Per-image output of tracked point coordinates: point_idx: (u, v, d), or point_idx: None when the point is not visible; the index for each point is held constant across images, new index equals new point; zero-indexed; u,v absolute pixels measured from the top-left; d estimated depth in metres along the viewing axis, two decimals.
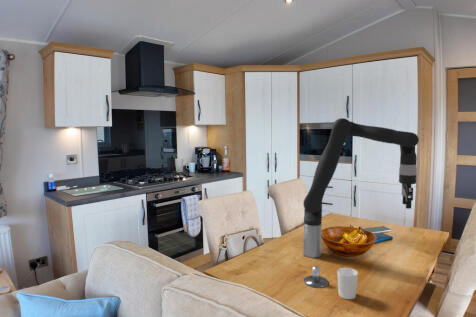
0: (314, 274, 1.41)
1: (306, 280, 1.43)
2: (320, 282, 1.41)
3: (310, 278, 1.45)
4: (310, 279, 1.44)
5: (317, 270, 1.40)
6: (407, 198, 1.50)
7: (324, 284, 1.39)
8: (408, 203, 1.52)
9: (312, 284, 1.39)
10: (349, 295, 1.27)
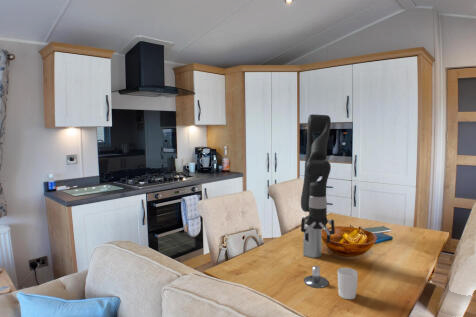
0: (314, 274, 1.41)
1: (306, 280, 1.43)
2: (320, 282, 1.41)
3: (310, 278, 1.45)
4: (310, 279, 1.44)
5: (317, 270, 1.40)
6: (334, 232, 1.37)
7: (324, 284, 1.39)
8: None
9: (312, 284, 1.39)
10: (349, 295, 1.27)
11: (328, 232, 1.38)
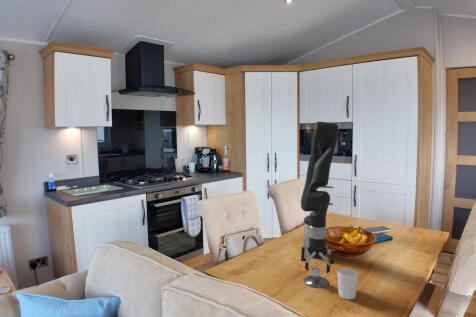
0: (314, 274, 1.41)
1: (306, 280, 1.43)
2: (320, 282, 1.41)
3: (310, 278, 1.45)
4: (310, 279, 1.44)
5: (317, 270, 1.40)
6: None
7: (324, 284, 1.39)
8: (329, 267, 1.40)
9: (312, 284, 1.39)
10: (349, 295, 1.27)
11: (328, 262, 1.39)
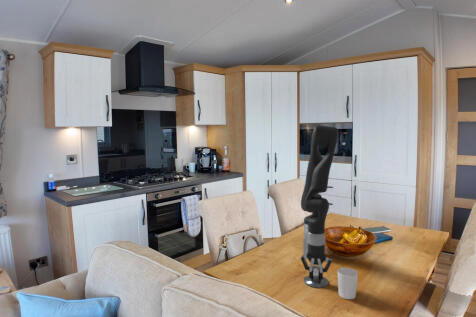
0: (314, 274, 1.41)
1: (306, 280, 1.43)
2: (320, 282, 1.41)
3: (310, 278, 1.45)
4: (310, 279, 1.44)
5: (317, 270, 1.40)
6: (327, 270, 1.39)
7: (324, 284, 1.39)
8: (322, 274, 1.41)
9: (312, 283, 1.39)
10: (349, 295, 1.27)
11: (321, 270, 1.40)
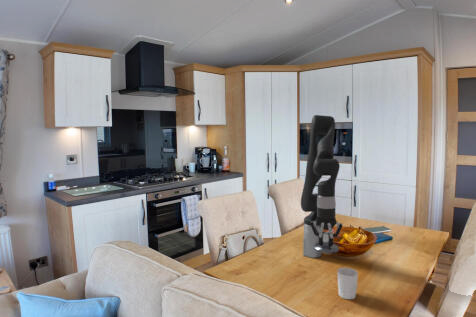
0: (324, 239, 1.35)
1: (316, 246, 1.37)
2: (330, 248, 1.35)
3: (320, 245, 1.39)
4: (320, 245, 1.38)
5: (327, 235, 1.34)
6: (337, 235, 1.33)
7: (335, 249, 1.33)
8: None
9: (322, 249, 1.33)
10: (349, 295, 1.27)
11: (331, 235, 1.34)
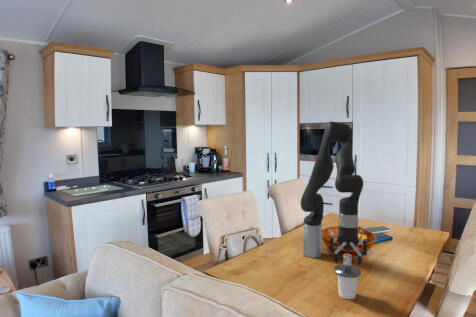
0: (346, 262, 1.28)
1: (336, 269, 1.30)
2: (352, 271, 1.28)
3: (341, 267, 1.32)
4: (341, 268, 1.31)
5: (349, 258, 1.28)
6: (366, 253, 1.26)
7: (357, 273, 1.27)
8: None
9: (344, 273, 1.27)
10: (349, 295, 1.27)
11: (359, 253, 1.27)
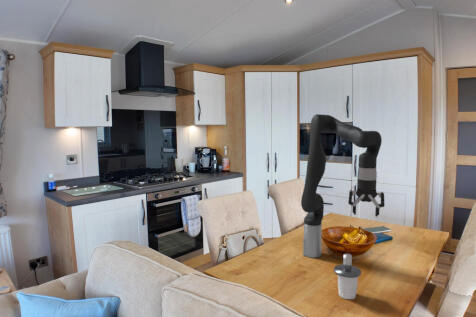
0: (346, 262, 1.28)
1: (336, 269, 1.30)
2: (352, 271, 1.28)
3: (341, 267, 1.32)
4: (341, 268, 1.31)
5: (349, 258, 1.28)
6: None
7: (357, 273, 1.27)
8: None
9: (344, 273, 1.27)
10: (349, 295, 1.27)
11: (377, 205, 1.34)
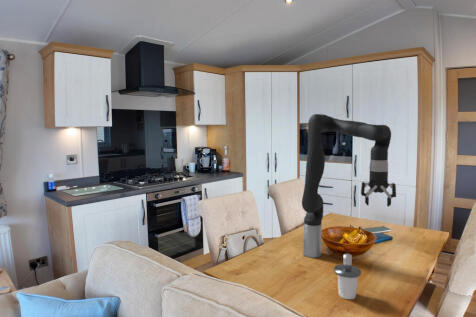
0: (346, 262, 1.28)
1: (336, 269, 1.30)
2: (352, 271, 1.28)
3: (341, 267, 1.32)
4: (340, 268, 1.31)
5: (349, 258, 1.28)
6: (395, 195, 1.40)
7: (357, 273, 1.27)
8: None
9: (344, 273, 1.27)
10: (349, 295, 1.27)
11: (389, 195, 1.41)
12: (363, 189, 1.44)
